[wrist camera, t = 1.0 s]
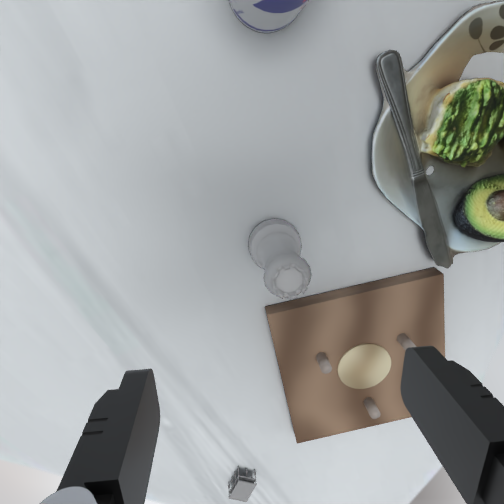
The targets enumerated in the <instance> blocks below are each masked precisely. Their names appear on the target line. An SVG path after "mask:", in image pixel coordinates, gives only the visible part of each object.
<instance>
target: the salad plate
mask: <svg viewBox="0 0 504 504" xmlns="http://www.w3.org/2000/svg"><path fill="white" fill-rule="evenodd" d="M486 52H499V53H504V0H503V1H497V2H495V1H494V2H491V3H484V4H479V5H477V6H474V7H473V8H471V9H470V10H469V11H468V12H466V13H465V14H464V15H463V16H462V17H460V19H459V20H458V21H457V22H456V23H455V24H454V25H453V26H452V27H451V28H450V29H449V30H448V31H447V32H446V33H445V34H444V35H443V36H442V37H441V38H440V39H439V40H438V42H437V43H435V44H434V46H433V47H432V48H431V49H430V50H429V52H428V53H427V54H426V56H425V57H424V58H423V59H422V60H421V61H420V62H419V63H418V64H417V65H416V66H415V67H413V68H412V69H411V70H410V71H405V70H404V68H403V64H402V60H401V56H400V54H399V53H398V52H397V51H395V50H388V51H385V52H383V53H382V54H380V55H379V56H378V58H377V61H376V71H377V75H378V79H379V82H380V86H381V90H382V93H383V98H384V102H383V109H382V112H381V114H380V117H379V121H378V123H377V125H376V128H375V131H374V133H373V138H372V175H373V177H374V179H375V180H376V183H377V185H378V187H379V189H380V190H381V191H382V193H383V194H384V195H385V196H386V197H387V199H388V200H389V201H390V202H391V203H392V204H393V205H394V206H395V207H397V208H398V209H400V210H401V211H402V212H403V213H405V214H406V215H407V216H408V217H409V218H410V219H411V220H413V221H414V222H415V223H416V224H418V225H419V226H420V227H421V228H422V229H423V231H424V234H425V241H426V243H427V247H428V249H429V252H430V254H431V256H432V258H433V259H434V261H435V263H436V264H437V265H438V266H443V267H446V268H449V267H450V266H451V264H453V257H454V255H456V254H458V253H465V252H476V251H481V250H485V249H489V248H491V247H493V246H495V245H497V244H499V243H501V242H504V83H503V82H500V81H496V80H493V79H490V78H475V79H471V80H463V81H459V78H460V77H461V75H462V73H463V70H464V68H465V67H466V65H467V64H468V62H469V60H470V59H471V57H472V56H473V55H477V54H481V53H486ZM429 166H433V167H434V171H433V173H432V174H431V175H429V176H428V175H427V174H426V169H427V168H428V167H429Z"/></svg>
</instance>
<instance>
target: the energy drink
mask: <svg viewBox="0 0 504 504" xmlns="http://www.w3.org/2000/svg"><path fill="white" fill-rule="evenodd" d="M308 1H309V0H229V3H230V5H231V8H232V10H233V11H234V13H235V15H236V16H237V18H238V19H239V20H240V21H241V22H242V23H243V24H244V25H246V26H247V27H248V28H250V29H253V30H255V31H258V32H263V33H271V32H275V31H279V30H281V29H283V28H285V27H286V26H287V25H289V24H290V23H291V22H292V21H293V20H294V19H295V17H296V16H297V15H298V14H299V12H300V11H301V10H302V8H303V7H304V6H305V5H306V3H307V2H308Z"/></svg>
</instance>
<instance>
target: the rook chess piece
mask: <svg viewBox="0 0 504 504" xmlns="http://www.w3.org/2000/svg"><path fill="white" fill-rule="evenodd" d="M248 247H249V251H250V255H251V256H252V259H253V260H254V261H255V263H256V264H257V265H258V266H259V267H261V268H263V269H264V270H265V273H264V282H265V286H266V287H267V289H268V290H269V291H270V292H271V293H272V294H274V295H276V296H278V297H280V298H282V299H283V297H285V298H290V300H291V299H295V298H297V295H298V294H300V293H301V292H302V293H303V294H304V292H305V291H306V290H307V286H308V285H309V283H310V279H311V270H310V266H309V265H308V263H307V262H306V260H305V259H303V258H301V257H300V251H301V247H302V245H301V240H300V236H299V233H298V232H297V230H296V229H295V227H294V226H293V225H292V224H290V223H289V222H287V221H285V220H281V219H270V220H266V221H263V222H262V223H260V224H259V225H258V226H256V227H255V228H254V230H253V231H252V233H251V235H250V237H249V243H248Z"/></svg>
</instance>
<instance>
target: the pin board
mask: <svg viewBox="0 0 504 504" xmlns="http://www.w3.org/2000/svg"><path fill="white" fill-rule="evenodd" d="M265 309H266V314H267V318H268V322H269V326H270V331H271V335H272V339H273V343H274V348H275V352H276V356H277V360H278V365H279V369H280V373H281V377H282V382H283V386H284V390H285V394H286V399H287V403H288V407H289V411H290V416H291V420H292V424H293V428H294V433H295V437H296V441H297V443H301V442H305V441H310V440H314V439H318V438H323V437H327V436H331V435H336V434H340V433H344V432H349V431H353V430H357V429H362V428H366V427H370V426H375V425H379V424H383V423H388V422H392V421H396V420H401V419H405V418H409V417H412V416H411V415H410V413H409V411H408V410H407V408H406V407H405V405H404V402H403V400H402V396H401V390H400V386H401V378H402V371H403V363H404V356H405V351H406V349H407V348H409V347H420V346H434V347H435V348H436V349H437V350H438V351H439V352H440V353H441V354H442V355H443V356H444V357H445V330H444V276H443V273H441V272H440V271H439V270H437V269H436V268H434V267H433V268H429V269H424V270H420V271H416V272H411V273H407V274H403V275H399V276H394V277H390V278H386V279H381V280H377V281H373V282H368V283H364V284H360V285H356V286H351V287H347V288H343V289H338V290H334V291H330V292H326V293H321V294H317V295H313V296H308V297H304V298H300V299H295V300H291V301H287V302H283V303H278V304H274V305H270V306H265Z"/></svg>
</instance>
